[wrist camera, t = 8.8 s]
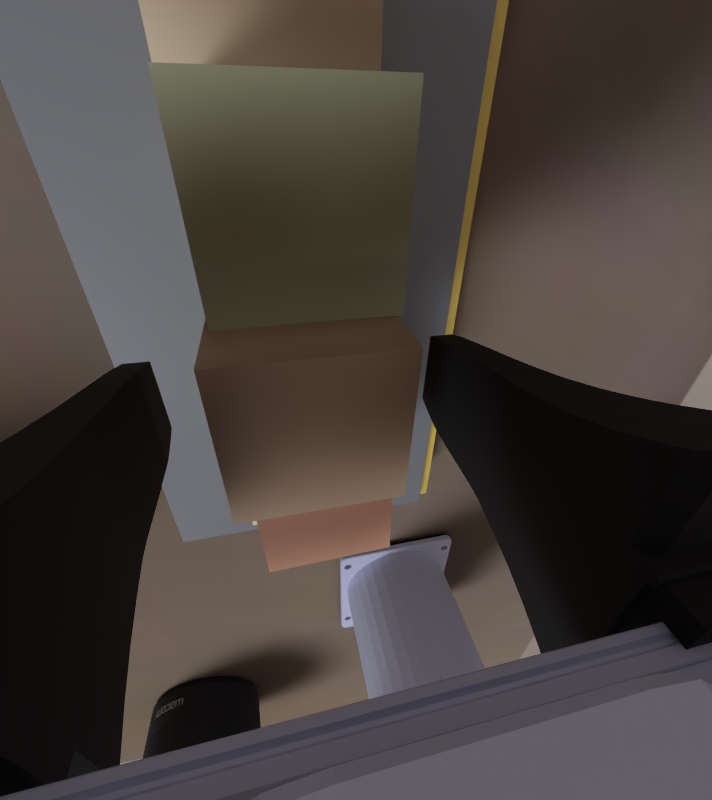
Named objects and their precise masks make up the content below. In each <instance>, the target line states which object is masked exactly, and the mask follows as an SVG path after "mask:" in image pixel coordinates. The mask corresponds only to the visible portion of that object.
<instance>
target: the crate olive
mask: <svg viewBox="0 0 712 800" xmlns="http://www.w3.org/2000/svg"><path fill="white" fill-rule="evenodd" d="M148 66H149V71H150V75H151V79H152V84H153V88H154V93H155V97H156V102H157V106H158V110H159V115H160V119H161V124H162V128H163V133H164V137H165V141H166V146H167V150H168V155H169V159H170V163H171V168H172V172H173V177H174V181H175V186H176V190H177V194H178V199H179V203H180V208H181V212H182V217H183V221H184V225H185V230H186V234H187V239H188V243H189V248H190V252H191V256H192V261H193V265H194V270H195V274H196V279H197V283H198V287H199V292H200V296H201V301H202V305H203V310H204V314H205V318H206V323H207V327H208V331H215V330H227V329H240V328H252V327H265V326H277V325H290V324H302V323H314V322H327V321H339V320H351V319H364V318H376V317H388V316H401V315H403V313H404V301H405V289H406V277H407V265H408V253H409V242H410V230H411V218H412V206H413V194H414V182H415V170H416V159H417V147H418V135H419V123H420V111H421V99H422V87H423V76H424V73H416V72H390V71H364V70H339V69H313V68H287V67H262V66H236V65H211V64H185V63H159V62H148Z"/></svg>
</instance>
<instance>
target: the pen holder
mask: <svg viewBox="0 0 712 800" xmlns="http://www.w3.org/2000/svg"><path fill="white" fill-rule="evenodd" d="M258 728H261V727H260V712H259V697H258V691H257V689H256V688H255V687H254V685H253V684H252V683H251V682H249V681H247V680H244V679H241V678H235V677H215V678H207V679H202V680H197V681H193V682H190V683H187V684H184V685H181V686H179V687H177V688H175V689H173V690H171V691H169V692H168V693H166V694H165V695H164V696H163V697H162V698H161V699H160V700H159V702H158V703H157V704H156V705H155V707H154V710H153V713H152V718H151V722H150V727H149V731H148V736H147V741H146V746H145V750H144V755H143V759H145V758H148V757H152V756H156V755H160V754H164V753H167V752H171V751H175V750H179V749H183V748H186V747H190V746H194V745H198V744H201V743H205V742H209V741H213V740H217V739H220V738H224V737H228V736H232V735H236V734H239V733H243V732H247V731H251V730H254V729H258Z"/></svg>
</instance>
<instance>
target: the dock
mask: <svg viewBox="0 0 712 800" xmlns="http://www.w3.org/2000/svg"><path fill="white" fill-rule="evenodd" d="M508 3H509V0H384V3H383V30H382V56H381V71H390V72H416V73H424V76H423V87H422V99H421V111H420V123H419V135H418V147H417V159H416V170H415V182H414V194H413V206H412V218H411V230H410V242H409V253H408V265H407V277H406V289H405V301H404V313H403V315H401V316H399V318H400V319H401V320H402V321H403V323H404V324H405V325H406V327H407V328H408V329H409V330H410V332H411V333H412V334H413V336H414V337H415V338H416V339H417V341H418V342H419V343H420V345H421V346H422V347H423V354H422V362H421V370H420V378H419V386H418V394H417V402H416V410H415V418H414V426H413V434H412V442H411V450H410V458H409V466H408V474H407V482H406V490H405V496H401V497H395V498H392V506H397V505H402V504H408V503H414V502H419V497H420V494H422V493H426V489H427V483H428V477H429V471H430V465H431V460H432V454H433V448H434V442H435V436H436V428H435V427H434V425H433V422H432V420H431V418H430V416H429V413H428V411H427V408H426V406H425V403H424V401H423V398H422V396H423V389H424V381H425V374H426V366H427V358H428V351H429V343H430V336H438V335H449V334H452V335H453V329H454V323H455V317H456V311H457V306H458V300H459V294H460V288H461V282H462V276H463V270H464V264H465V258H466V252H467V246H468V240H469V234H470V229H471V223H472V217H473V211H474V205H475V199H476V193H477V187H478V181H479V175H480V169H481V163H482V157H483V152H484V146H485V140H486V134H487V128H488V122H489V116H490V110H491V104H492V98H493V92H494V86H495V80H496V74H497V69H498V63H499V57H500V51H501V45H502V39H503V33H504V27H505V21H506V15H507V9H508ZM148 62H152V61H151V57H150V52H149V48H148V43H147V39H146V34H145V30H144V25H143V20H142V16H141V11H140V7H139V2H138V0H0V80H1V82H2V85H3V87H4V90H5V93H6V95H7V98H8V100H9V103H10V105H11V108H12V110H13V113H14V115H15V118H16V120H17V123H18V125H19V128H20V130H21V133H22V135H23V138H24V140H25V143H26V145H27V148H28V151H29V153H30V156H31V158H32V161H33V163H34V166H35V168H36V171H37V173H38V176H39V178H40V181H41V183H42V186H43V188H44V191H45V193H46V196H47V198H48V201H49V204H50V206H51V209H52V211H53V214H54V216H55V219H56V221H57V224H58V226H59V229H60V231H61V234H62V236H63V239H64V241H65V244H66V246H67V249H68V251H69V254H70V257H71V259H72V262H73V264H74V267H75V269H76V272H77V274H78V277H79V279H80V282H81V284H82V287H83V289H84V292H85V294H86V297H87V299H88V302H89V304H90V307H91V310H92V312H93V315H94V317H95V320H96V322H97V325H98V327H99V330H100V332H101V335H102V337H103V340H104V342H105V345H106V347H107V350H108V352H109V355H110V357H111V360H112V362H113V365H114V368H116V367H117V366H119V365H121V364H126V363H138V362H149V361H150V363H151V366H152V369H153V372H154V375H155V378H156V381H157V384H158V387H159V390H160V393H161V396H162V399H163V402H164V405H165V408H166V411H167V414H168V417H169V420H170V423H171V426H172V432H171V443H170V452H169V460H168V464H167V468H166V472H165V476H164V480H163V483H162V489H163V491H164V494H165V496H166V499H167V501H168V504H169V506H170V509H171V511H172V514H173V516H174V519H175V521H176V524H177V527H178V529H179V532H180V534H181V537H182V539H183V542H188V541H194V540H199V539H205V538H211V537H217V536H223V535H228V534H234V533H240V532H246V531H252V530H257V529H259V528H258V525H253V523H252V522H246V523H240V524H234V522H233V518H232V514H231V511H230V507H229V503H228V499H227V495H226V492H225V488H224V484H223V480H222V476H221V473H220V469H219V465H218V461H217V457H216V453H215V450H214V446H213V442H212V438H211V434H210V431H209V427H208V423H207V419H206V415H205V411H204V408H203V404H202V400H201V396H200V392H199V389H198V385H197V381H196V377H195V373H194V366H195V362H196V357H197V353H198V349H199V344H200V340H201V336H202V331H203V327H204V323H205V314H204V310H203V305H202V301H201V296H200V292H199V287H198V283H197V279H196V274H195V270H194V265H193V261H192V256H191V252H190V248H189V243H188V239H187V234H186V230H185V225H184V221H183V217H182V212H181V208H180V203H179V199H178V194H177V190H176V186H175V181H174V177H173V172H172V168H171V163H170V159H169V155H168V150H167V146H166V141H165V137H164V133H163V128H162V124H161V119H160V115H159V110H158V106H157V102H156V97H155V93H154V88H153V84H152V79H151V75H150V71H149V66H148Z"/></svg>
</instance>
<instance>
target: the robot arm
mask: <svg viewBox="0 0 712 800" xmlns="http://www.w3.org/2000/svg"><path fill="white" fill-rule="evenodd" d="M422 398H423V401H424V403H425V406H426V408H427V411H428V413H429V416H430V418H431V420H432V422H433V425H434V427H435V428H436V430H437V432H438V433H439V435H440V437H441V438H442V440H443V442H444V443H445V445H446V447H447V448H448V450H449V452H450V453H451V455H452V456H453V458H454V460H455V461H456V463H457V464H458V466H459V468H460V469H461V471H462V473H463V474H464V476H465V477H466V479H467V481H468V482H469V484H470V486H471V487H472V489H473V491H474V493H475V495H476V496H477V498H478V500H479V502H480V504H481V506H482V509H483V511H484V513H485V515H486V517H487V519H488V521H489V523H490V526H491V528H492V530H493V532H494V534H495V537H496V539H497V541H498V544H499V546H500V548H501V551H502V553H503V555H504V557H505V560H506V562H507V564H508V567H509V569H510V572H511V574H512V577H513V579H514V582H515V584H516V587H517V589H518V592H519V595H520V597H521V600H522V602H523V605H524V607H525V610H526V613H527V616H528V618H529V621H530V624H531V627H532V630H533V632H534V635H535V638H536V641H537V643H538V646H539V649H540V652H541V654H539V655H534V656H531V657H527V658H523V659H519V660H516V661H512V662H508V663H504V664H500V665H497V666H493V667H489V668H485V667H484V665H483V663H482V660H481V658H480V656H479V653H478V651H477V649H476V647H475V644H474V642H473V640H472V637H471V635H470V633H469V630H468V628H467V626H466V623H465V621H464V619H463V616H462V614H461V612H460V610H459V607H458V605H457V603H456V600H455V598H454V596H453V593H452V591H451V589H450V586H449V584H448V582H447V580H446V577H445V575H444V570H445V566H446V562H447V558H448V554H449V550H450V546H451V539H450V537H449V536H448V535H442V536H437V537H432V538H427V539H421V540H416V541H411V542H406V543H401V544H395V545H390V547H387V548H383V549H378V550H373V551H369V552H364V553H359V554H354V555H350V556H345V557H341V558H340V595H341V624H342V627H345V628H347V627H352V626H354V630H355V635H356V639H357V644H358V649H359V654H360V659H361V664H362V668H363V673H364V678H365V683H366V688H367V692H368V697H369V699H368V700H364V701H360V702H357V703H353V704H349V705H345V706H341V707H338V708H334V709H330V710H326V711H323V712H319V713H315V714H311V715H307V716H304V717H300V718H296V719H292V720H288V721H285V722H281V723H277V724H273V725H270V726H266V727H262V728H258V729H254V730H251V731H247V732H243V733H239V734H236V735H232V736H228V737H224V738H220V739H217V740H213V741H209V742H205V743H201V744H198V745H194V746H190V747H186V748H183V749H179V750H175V751H171V752H167V753H164V754H160V755H156V756H152V757H148V758H145V759H141V760H137V761H133V762H130V763H126V764H122V765H120V754H121V741H122V728H123V715H124V702H125V692H126V682H127V673H128V663H129V653H130V644H131V636H132V628H133V621H134V613H135V605H136V598H137V591H138V585H139V579H140V572H141V566H142V559H143V555H144V550H145V546H146V541H147V537H148V534H149V530H150V527H151V523H152V519H153V516H154V512H155V509H156V505H157V501H158V498H159V494H160V491H161V487H162V483H163V480H164V476H165V472H166V468H167V464H168V460H169V452H170V443H171V432H172V426H171V423H170V420H169V417H168V414H167V411H166V408H165V405H164V402H163V399H162V396H161V393H160V390H159V387H158V384H157V381H156V378H155V375H154V372H153V369H152V366H151V363H150V361H149V362H138V363H126V364H121V365H119V366H117V367H116V368H114V369H112V370H111V371H109V372H108V373H106V374H105V375H103V376H102V377H100V378H99V379H97V380H96V381H94V382H93V383H91V384H90V385H89V386H87V387H86V388H84V389H83V390H81V391H80V392H78V393H77V394H76V395H74V396H73V397H71V398H70V399H68V400H67V401H65V402H64V403H63V404H61V405H60V406H58V407H57V408H55V409H54V410H52V411H50V412H49V413H47V414H46V415H44V416H43V417H41V418H39V419H38V420H36V421H35V422H33V423H32V424H30V425H28V426H27V427H25V428H24V429H22V430H21V431H19V432H18V433H16V434H14V435H13V436H11V437H9V438H8V439H6V440H4V441H2V442H1V443H0V800H712V411H711V410H705V409H699V408H693V407H685V406H680V405H674V404H668V403H663V402H657V401H652V400H647V399H643V398H638V397H634V396H629V395H625V394H620V393H616V392H612V391H608V390H604V389H600V388H597V387H593V386H590V385H586V384H583V383H580V382H576V381H573V380H569V379H566V378H563V377H560V376H557V375H555V374H552V373H549V372H546V371H544V370H541V369H538V368H536V367H533V366H530V365H528V364H525V363H523V362H520V361H518V360H515V359H513V358H511V357H508V356H506V355H504V354H501V353H499V352H497V351H494V350H492V349H490V348H487V347H485V346H482V345H480V344H478V343H475V342H473V341H470V340H468V339H465V338H462V337H459V336H456V335H452V334H449V335H438V336H430V343H429V351H428V358H427V366H426V374H425V381H424V389H423V396H422Z"/></svg>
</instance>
